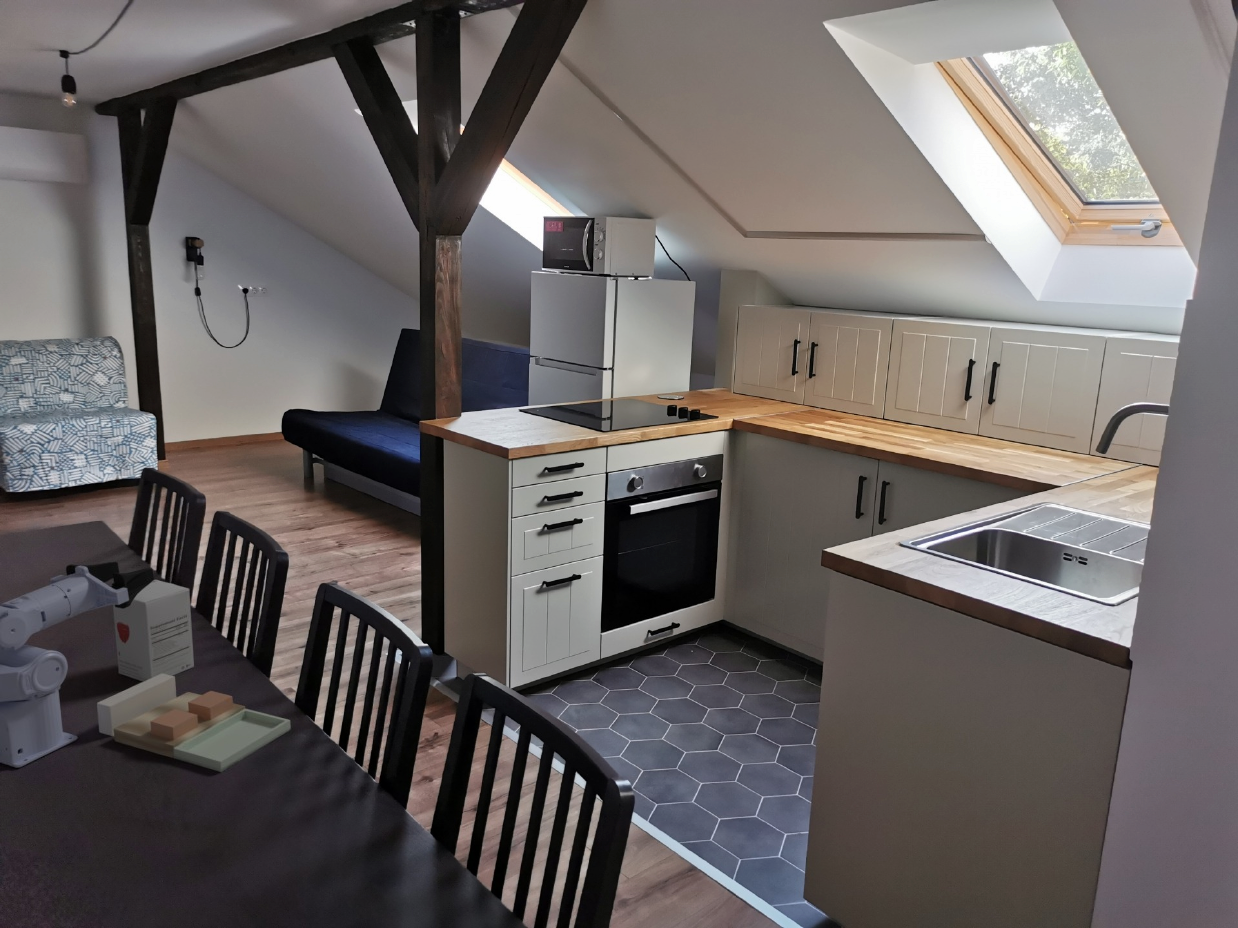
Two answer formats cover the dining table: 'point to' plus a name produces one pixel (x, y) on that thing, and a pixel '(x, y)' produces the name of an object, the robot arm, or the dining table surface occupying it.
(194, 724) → the tile
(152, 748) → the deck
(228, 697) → the tile
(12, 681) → the robot arm
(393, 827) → the dining table surface
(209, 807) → the dining table surface
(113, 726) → the push bar
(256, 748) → the tray
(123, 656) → the supplement box
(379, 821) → the dining table surface
